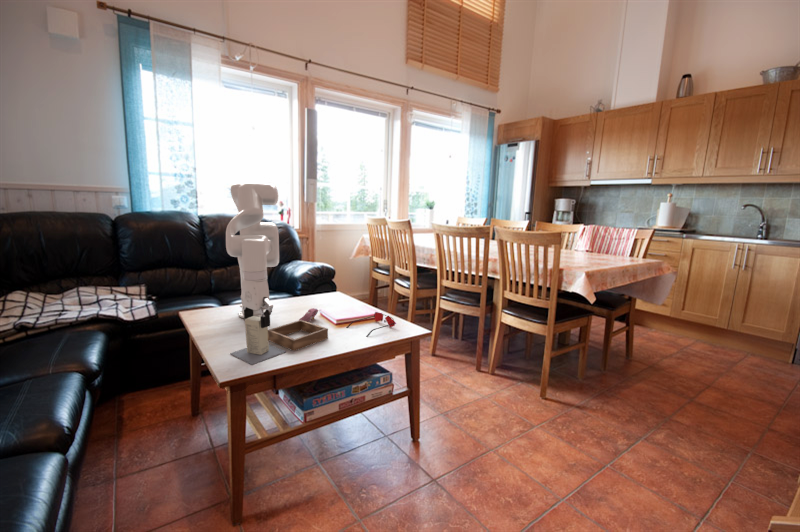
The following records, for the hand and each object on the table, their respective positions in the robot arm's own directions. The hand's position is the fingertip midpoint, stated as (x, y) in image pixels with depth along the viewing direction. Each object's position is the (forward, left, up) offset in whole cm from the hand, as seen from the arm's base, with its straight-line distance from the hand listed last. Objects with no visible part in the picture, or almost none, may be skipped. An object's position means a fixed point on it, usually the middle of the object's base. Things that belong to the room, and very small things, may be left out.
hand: (257, 323), depth 125 cm
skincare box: (0, 0, -11) cm, 11 cm away
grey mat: (+1, 0, -11) cm, 11 cm away
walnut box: (0, +17, -11) cm, 20 cm away
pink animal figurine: (-13, +33, -11) cm, 38 cm away
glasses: (+14, +45, -11) cm, 48 cm away
